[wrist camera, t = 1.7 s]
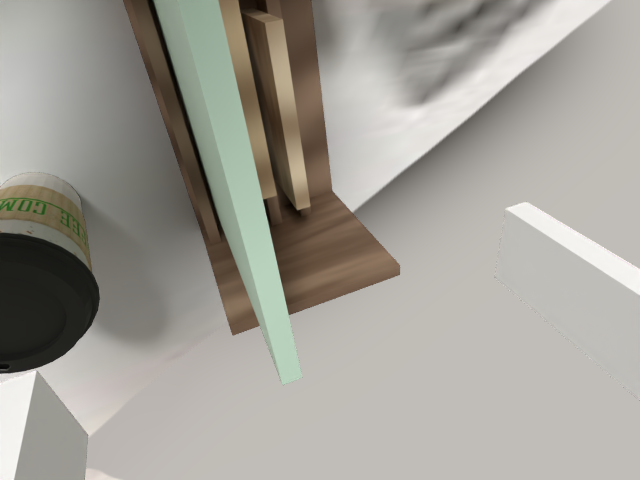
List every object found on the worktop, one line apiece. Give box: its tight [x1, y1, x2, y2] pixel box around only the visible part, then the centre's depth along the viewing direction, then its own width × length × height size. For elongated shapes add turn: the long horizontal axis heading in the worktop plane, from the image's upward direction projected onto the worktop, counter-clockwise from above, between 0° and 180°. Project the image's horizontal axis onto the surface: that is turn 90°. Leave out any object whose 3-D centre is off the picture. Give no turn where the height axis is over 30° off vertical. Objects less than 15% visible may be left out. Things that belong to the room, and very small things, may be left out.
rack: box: [123, 0, 400, 335], centre depth 30 cm, size 30×14×16 cm, turn 7°
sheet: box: [152, 0, 302, 385], centre depth 26 cm, size 24×1×22 cm, turn 7°
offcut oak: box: [218, 0, 277, 199], centre depth 30 cm, size 18×1×10 cm, turn 7°
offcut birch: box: [240, 8, 311, 210], centre depth 34 cm, size 14×1×8 cm, turn 7°
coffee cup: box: [0, 172, 100, 374], centre depth 31 cm, size 10×10×15 cm
